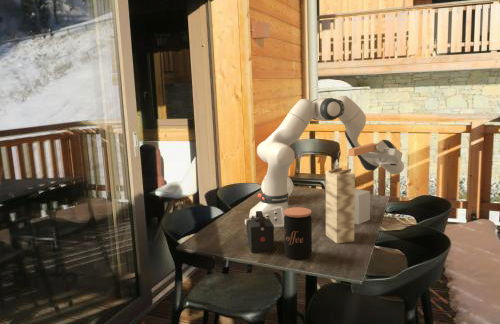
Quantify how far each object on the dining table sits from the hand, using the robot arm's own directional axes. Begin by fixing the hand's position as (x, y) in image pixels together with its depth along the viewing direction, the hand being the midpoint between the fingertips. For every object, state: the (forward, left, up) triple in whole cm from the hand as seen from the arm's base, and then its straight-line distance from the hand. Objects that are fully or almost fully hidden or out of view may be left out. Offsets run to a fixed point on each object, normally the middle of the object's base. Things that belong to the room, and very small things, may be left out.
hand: (371, 146), depth 211 cm
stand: (-24, -17, -36) cm, 46 cm away
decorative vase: (-31, +46, -36) cm, 67 cm away
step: (-6, +4, -36) cm, 37 cm away
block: (-6, -3, -2) cm, 7 cm away
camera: (-58, -15, -36) cm, 70 cm away
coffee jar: (-47, -29, -36) cm, 66 cm away
